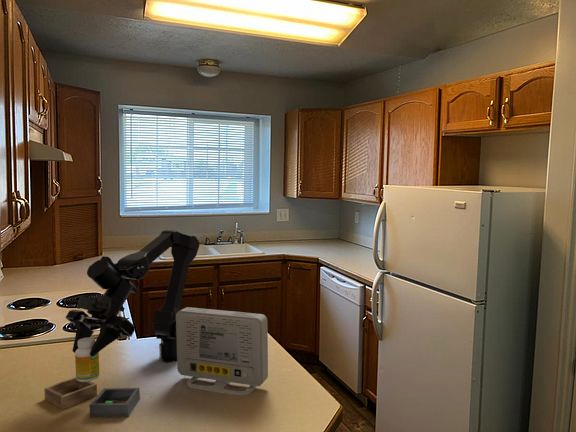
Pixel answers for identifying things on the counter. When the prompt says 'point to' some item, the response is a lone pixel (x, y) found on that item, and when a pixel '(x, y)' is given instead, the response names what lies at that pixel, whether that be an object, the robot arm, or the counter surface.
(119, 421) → the counter surface
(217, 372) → the network device
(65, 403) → the holder sleeve
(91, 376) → the supplement bottle
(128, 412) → the dock collar
